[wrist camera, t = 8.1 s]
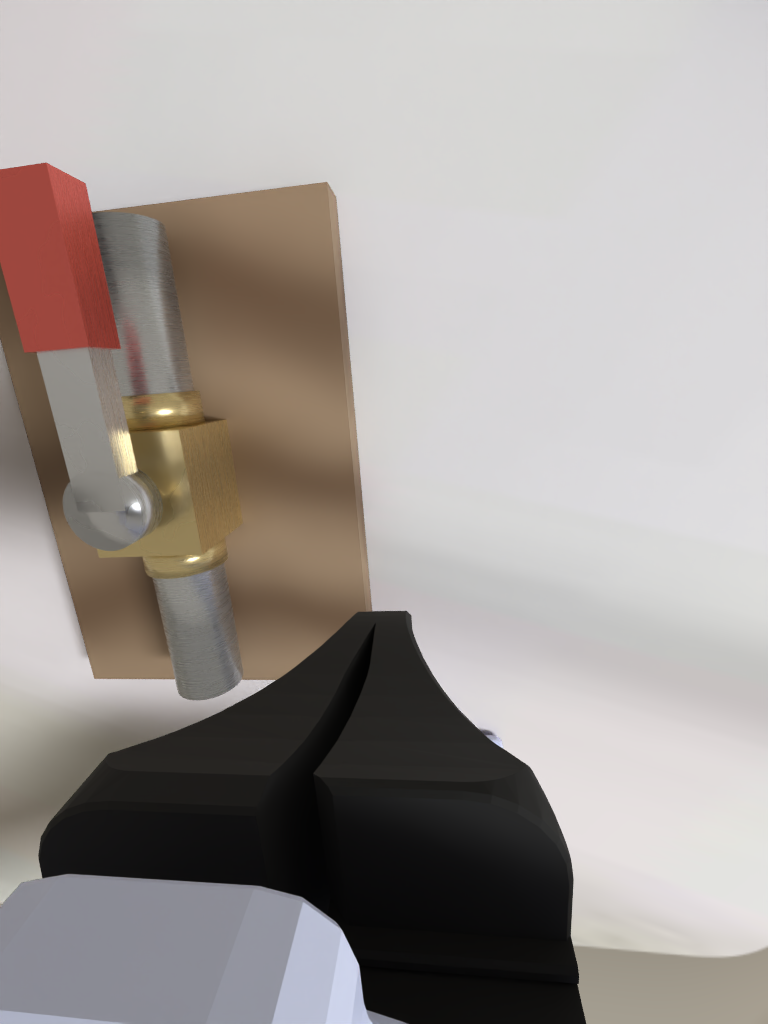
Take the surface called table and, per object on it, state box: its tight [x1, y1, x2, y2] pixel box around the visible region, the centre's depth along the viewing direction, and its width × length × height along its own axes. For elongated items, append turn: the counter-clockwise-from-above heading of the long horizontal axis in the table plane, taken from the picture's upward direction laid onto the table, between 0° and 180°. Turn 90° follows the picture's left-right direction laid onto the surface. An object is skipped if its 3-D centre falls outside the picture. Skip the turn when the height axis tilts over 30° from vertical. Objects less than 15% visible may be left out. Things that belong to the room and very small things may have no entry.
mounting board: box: [0, 182, 372, 680], centre depth 21 cm, size 20×14×2 cm
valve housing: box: [92, 212, 244, 700], centre depth 18 cm, size 18×4×4 cm, turn 4°
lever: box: [0, 163, 163, 551], centre depth 14 cm, size 10×3×2 cm, turn 4°
